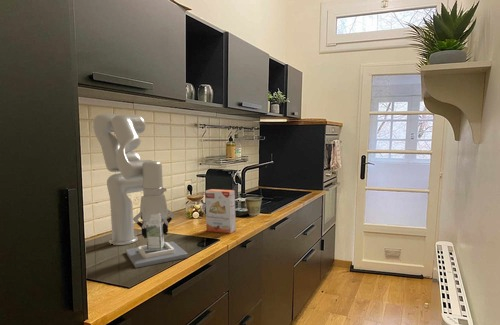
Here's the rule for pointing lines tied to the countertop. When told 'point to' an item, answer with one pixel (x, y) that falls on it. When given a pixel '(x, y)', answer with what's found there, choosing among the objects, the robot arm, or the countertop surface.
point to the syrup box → (155, 232)
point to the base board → (155, 254)
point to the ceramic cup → (253, 205)
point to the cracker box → (220, 210)
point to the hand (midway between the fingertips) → (155, 235)
